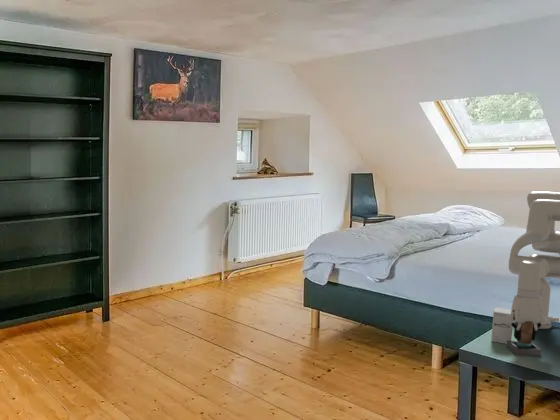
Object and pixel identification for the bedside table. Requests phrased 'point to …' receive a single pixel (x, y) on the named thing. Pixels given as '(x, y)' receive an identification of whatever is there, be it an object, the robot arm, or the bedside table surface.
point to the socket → (524, 349)
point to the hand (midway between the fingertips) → (524, 338)
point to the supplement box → (501, 326)
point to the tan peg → (526, 335)
